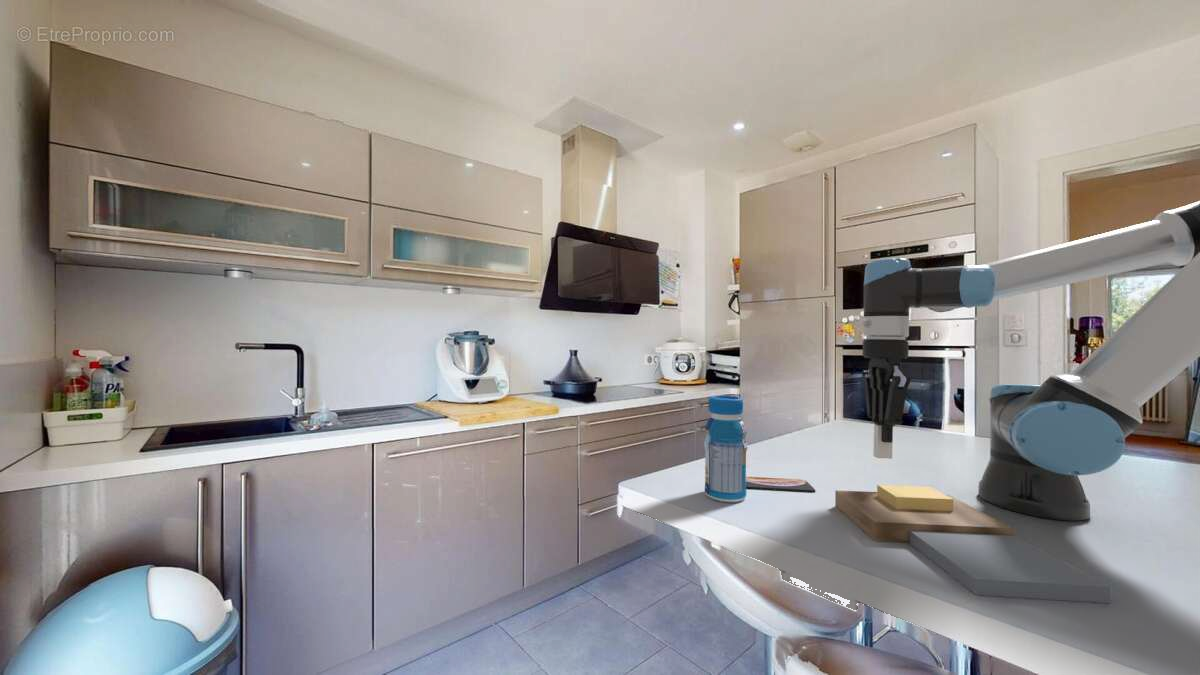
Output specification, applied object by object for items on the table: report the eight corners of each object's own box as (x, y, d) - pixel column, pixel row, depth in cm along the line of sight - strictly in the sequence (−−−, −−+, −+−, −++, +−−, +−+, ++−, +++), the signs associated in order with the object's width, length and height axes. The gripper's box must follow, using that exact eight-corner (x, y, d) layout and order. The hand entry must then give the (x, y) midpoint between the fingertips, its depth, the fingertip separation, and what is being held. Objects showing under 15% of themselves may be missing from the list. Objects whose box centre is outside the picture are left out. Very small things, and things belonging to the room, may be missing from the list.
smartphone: (736, 475, 98) (805, 479, 96) (736, 479, 98) (805, 483, 96) (742, 486, 91) (817, 490, 88) (742, 490, 91) (817, 494, 88)
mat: (1014, 548, 65) (1014, 535, 65) (1109, 603, 52) (1109, 586, 52) (909, 543, 67) (909, 530, 67) (975, 594, 53) (975, 578, 53)
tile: (929, 497, 78) (929, 486, 78) (953, 511, 72) (953, 499, 72) (877, 495, 79) (877, 484, 79) (896, 508, 73) (896, 496, 73)
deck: (948, 510, 79) (948, 494, 79) (1013, 547, 65) (1013, 528, 65) (835, 506, 81) (835, 490, 81) (874, 540, 67) (874, 521, 67)
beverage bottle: (721, 506, 81) (722, 401, 81) (695, 491, 89) (695, 395, 89) (756, 500, 84) (756, 399, 84) (728, 486, 92) (728, 393, 92)
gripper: (849, 337, 91) (847, 447, 91) (883, 338, 78) (880, 466, 78) (886, 338, 90) (884, 449, 91) (927, 339, 77) (924, 468, 78)
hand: (882, 457), depth 84 cm, fingers closed
